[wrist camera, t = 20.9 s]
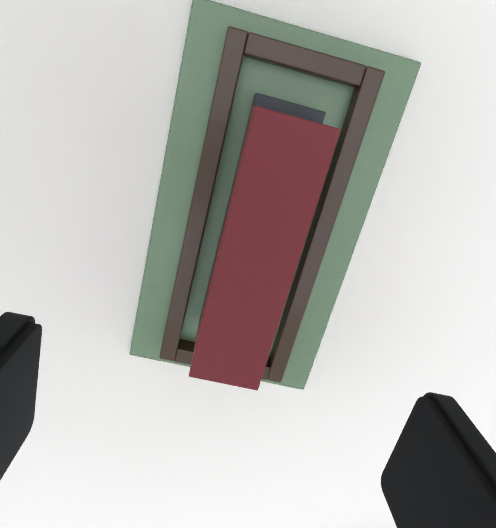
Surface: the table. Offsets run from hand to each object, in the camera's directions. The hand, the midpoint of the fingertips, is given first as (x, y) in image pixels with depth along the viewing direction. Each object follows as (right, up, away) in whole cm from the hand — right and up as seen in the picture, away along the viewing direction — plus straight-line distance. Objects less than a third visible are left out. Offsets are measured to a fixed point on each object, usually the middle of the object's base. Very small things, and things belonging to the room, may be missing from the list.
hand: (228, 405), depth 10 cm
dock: (+1, +6, +15) cm, 16 cm away
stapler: (+1, +6, +14) cm, 15 cm away
